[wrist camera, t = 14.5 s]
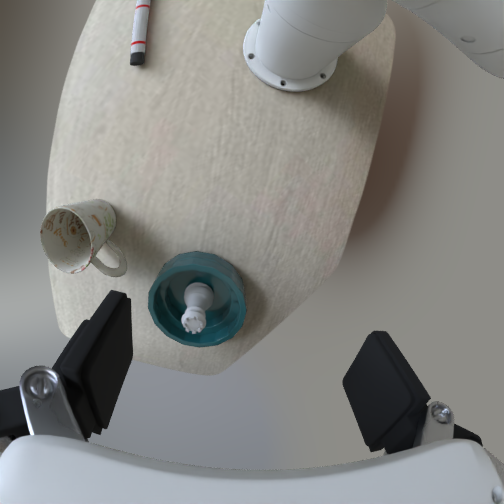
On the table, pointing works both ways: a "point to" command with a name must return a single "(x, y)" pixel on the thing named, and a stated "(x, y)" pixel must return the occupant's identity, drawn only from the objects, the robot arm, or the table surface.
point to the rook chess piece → (196, 306)
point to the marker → (139, 32)
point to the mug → (80, 236)
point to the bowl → (173, 305)
